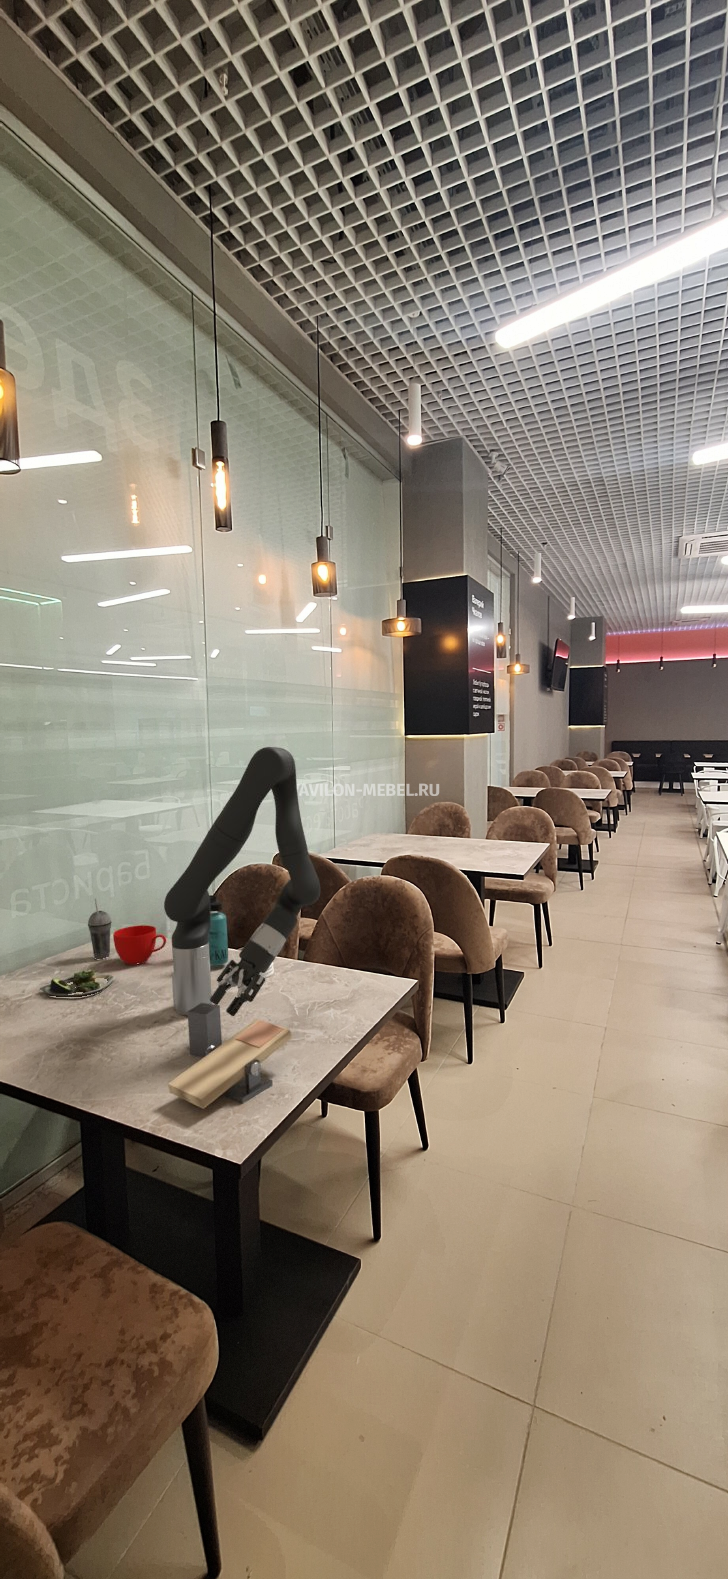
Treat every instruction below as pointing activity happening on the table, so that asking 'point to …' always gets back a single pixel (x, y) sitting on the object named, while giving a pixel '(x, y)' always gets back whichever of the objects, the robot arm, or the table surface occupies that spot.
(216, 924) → the beverage bottle
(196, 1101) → the seesaw plank
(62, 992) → the salad plate
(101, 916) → the beverage cup
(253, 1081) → the seesaw stand
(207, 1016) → the block
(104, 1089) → the table surface
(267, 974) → the coaster
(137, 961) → the ceramic cup
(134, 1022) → the table surface
